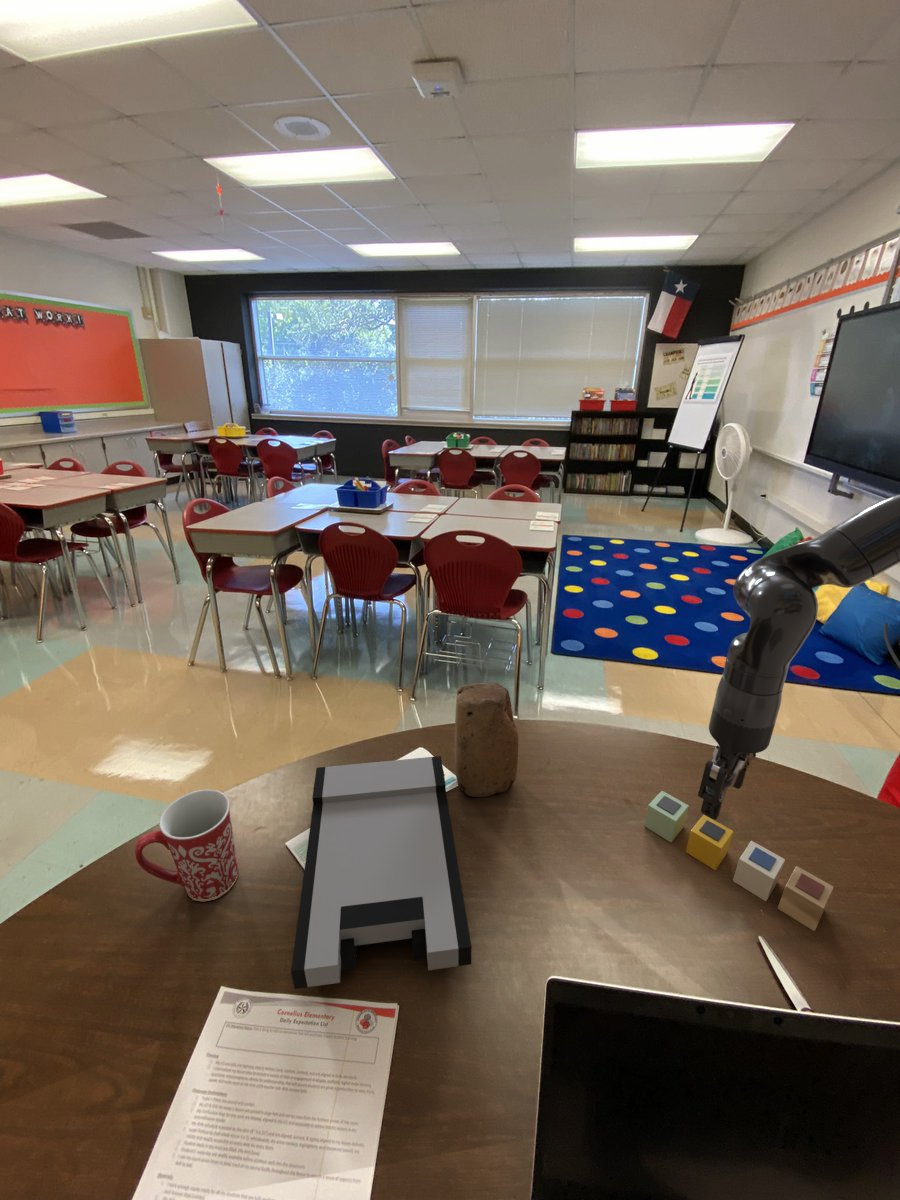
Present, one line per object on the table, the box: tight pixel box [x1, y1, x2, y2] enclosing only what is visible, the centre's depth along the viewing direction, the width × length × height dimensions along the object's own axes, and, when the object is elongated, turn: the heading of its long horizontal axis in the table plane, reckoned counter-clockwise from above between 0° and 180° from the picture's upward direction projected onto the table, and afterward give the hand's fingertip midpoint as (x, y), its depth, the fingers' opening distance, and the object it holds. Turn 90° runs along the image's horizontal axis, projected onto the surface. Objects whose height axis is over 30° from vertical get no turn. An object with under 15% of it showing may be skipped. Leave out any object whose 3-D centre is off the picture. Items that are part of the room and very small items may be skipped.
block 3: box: [732, 840, 786, 902], centre depth 78 cm, size 5×5×5 cm
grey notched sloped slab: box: [290, 755, 472, 990], centre depth 78 cm, size 21×32×8 cm, turn 7°
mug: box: [134, 788, 239, 899], centre depth 76 cm, size 13×9×14 cm
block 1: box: [453, 682, 519, 798], centre depth 93 cm, size 11×8×20 cm
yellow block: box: [685, 814, 735, 871], centre depth 83 cm, size 5×5×5 cm
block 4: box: [777, 865, 835, 932], centre depth 74 cm, size 5×5×5 cm
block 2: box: [644, 790, 690, 843], centre depth 87 cm, size 5×5×5 cm
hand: (721, 799), depth 79 cm, fingers open, 8 cm apart
